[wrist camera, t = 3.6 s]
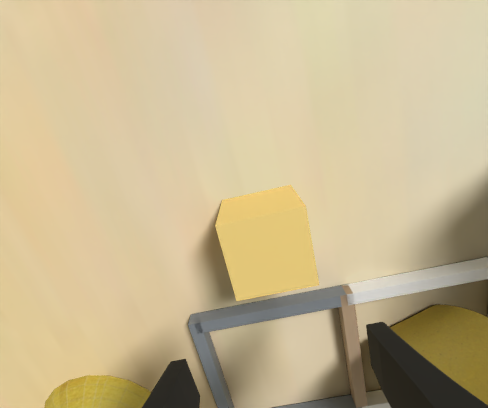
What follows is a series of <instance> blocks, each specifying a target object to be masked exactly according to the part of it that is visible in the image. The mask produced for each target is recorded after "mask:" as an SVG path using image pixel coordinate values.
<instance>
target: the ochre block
mask: <svg viewBox="0 0 488 408" xmlns="http://www.w3.org/2000/svg"><path fill="white" fill-rule="evenodd" d="M215 227H216V231H217V234H218V238H219V241H220V245H221V248H222V252H223V255H224V259H225V262H226V266H227V269H228V273H229V276H230V280H231V283H232V287H233V290H234V294H235V297H236V301H241V300H246V299H251V298H256V297H261V296H266V295H271V294H277V293H282V292H287V291H292V290H297V289H302V288H307V287H312V286H317V285H319V280H318V275H317V269H316V263H315V257H314V251H313V245H312V240H311V234H310V228H309V222H308V216H307V210H306V206H305V204H304V203H303V202H302V200H301V199H300V197H299V196H298V195H297V193H296V192H295V190H294V189H293V188H292V186H291V185H288V186H283V187H279V188H274V189H270V190H265V191H261V192H256V193H252V194H248V195H243V196H239V197H234V198H230V199H225V200H222V203H221V206H220V210H219V214H218V217H217V221H216V225H215Z"/></svg>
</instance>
